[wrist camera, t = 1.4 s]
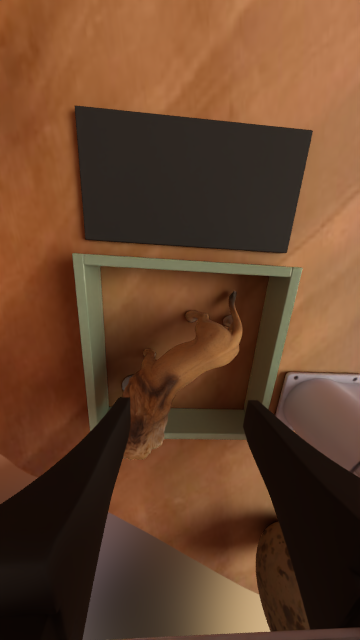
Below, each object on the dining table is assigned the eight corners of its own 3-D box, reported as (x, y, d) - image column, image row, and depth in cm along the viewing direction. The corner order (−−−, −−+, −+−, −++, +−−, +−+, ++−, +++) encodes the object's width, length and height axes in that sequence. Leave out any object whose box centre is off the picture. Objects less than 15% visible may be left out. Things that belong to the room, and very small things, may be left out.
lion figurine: (157, 399, 22) (148, 486, 14) (120, 373, 21) (84, 451, 13) (250, 306, 19) (312, 343, 11) (213, 270, 18) (250, 280, 10)
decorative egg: (255, 500, 28) (340, 745, 14) (321, 506, 29) (462, 740, 15) (234, 544, 31) (287, 782, 17) (294, 548, 32) (391, 775, 18)
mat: (308, 134, 15) (313, 130, 15) (283, 253, 18) (287, 253, 17) (77, 110, 14) (74, 105, 14) (87, 239, 17) (85, 239, 16)
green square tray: (279, 266, 18) (303, 267, 15) (248, 414, 24) (261, 440, 20) (90, 254, 17) (71, 253, 14) (102, 412, 23) (90, 438, 19)
